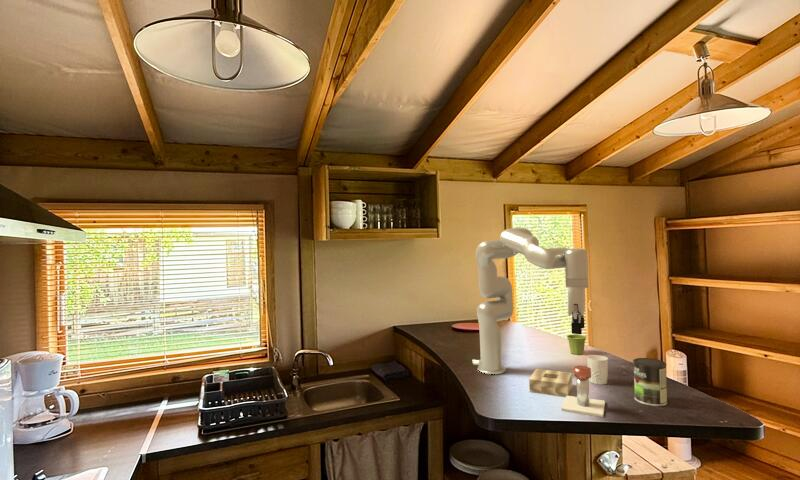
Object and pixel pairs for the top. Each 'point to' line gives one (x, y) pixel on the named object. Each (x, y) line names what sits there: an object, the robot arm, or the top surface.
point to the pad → (594, 408)
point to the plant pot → (576, 344)
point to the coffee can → (650, 381)
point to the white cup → (598, 369)
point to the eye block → (551, 382)
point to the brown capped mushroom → (582, 384)
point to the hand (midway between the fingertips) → (578, 330)
